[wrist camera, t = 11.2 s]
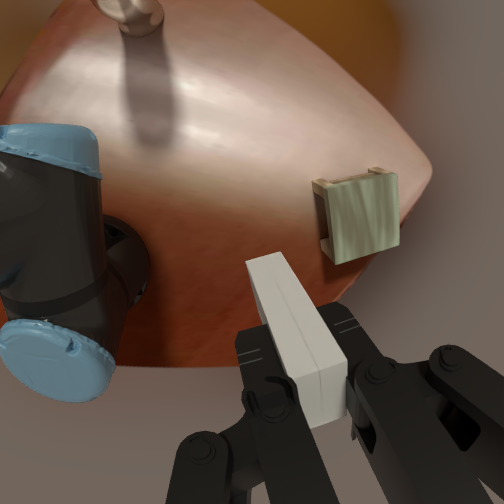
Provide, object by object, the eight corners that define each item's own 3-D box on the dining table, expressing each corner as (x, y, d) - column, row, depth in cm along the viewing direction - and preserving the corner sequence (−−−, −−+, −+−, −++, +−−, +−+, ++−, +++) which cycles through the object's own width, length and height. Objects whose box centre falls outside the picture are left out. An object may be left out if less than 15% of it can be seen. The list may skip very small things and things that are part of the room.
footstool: (335, 265, 42) (399, 244, 43) (327, 189, 38) (397, 174, 38) (321, 249, 47) (380, 231, 48) (311, 180, 43) (376, 166, 43)
